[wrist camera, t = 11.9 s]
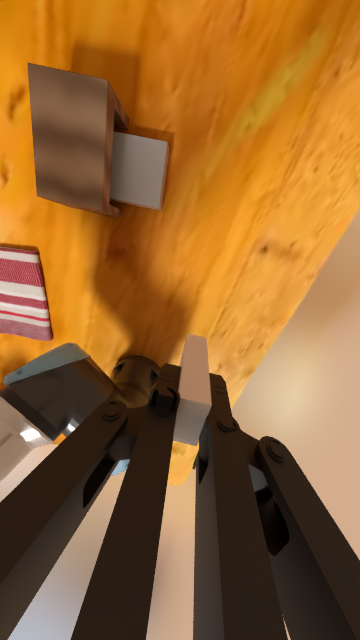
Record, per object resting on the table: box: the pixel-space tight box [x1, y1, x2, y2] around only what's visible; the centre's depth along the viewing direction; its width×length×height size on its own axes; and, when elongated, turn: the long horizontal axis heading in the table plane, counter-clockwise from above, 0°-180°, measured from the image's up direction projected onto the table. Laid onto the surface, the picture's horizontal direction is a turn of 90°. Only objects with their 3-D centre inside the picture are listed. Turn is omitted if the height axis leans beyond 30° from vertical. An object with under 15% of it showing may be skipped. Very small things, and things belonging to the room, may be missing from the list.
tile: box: [110, 131, 169, 211], centre depth 35 cm, size 10×18×3 cm, turn 79°
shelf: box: [28, 63, 129, 218], centre depth 32 cm, size 16×12×8 cm
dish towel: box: [0, 246, 52, 341], centre depth 47 cm, size 17×23×3 cm
